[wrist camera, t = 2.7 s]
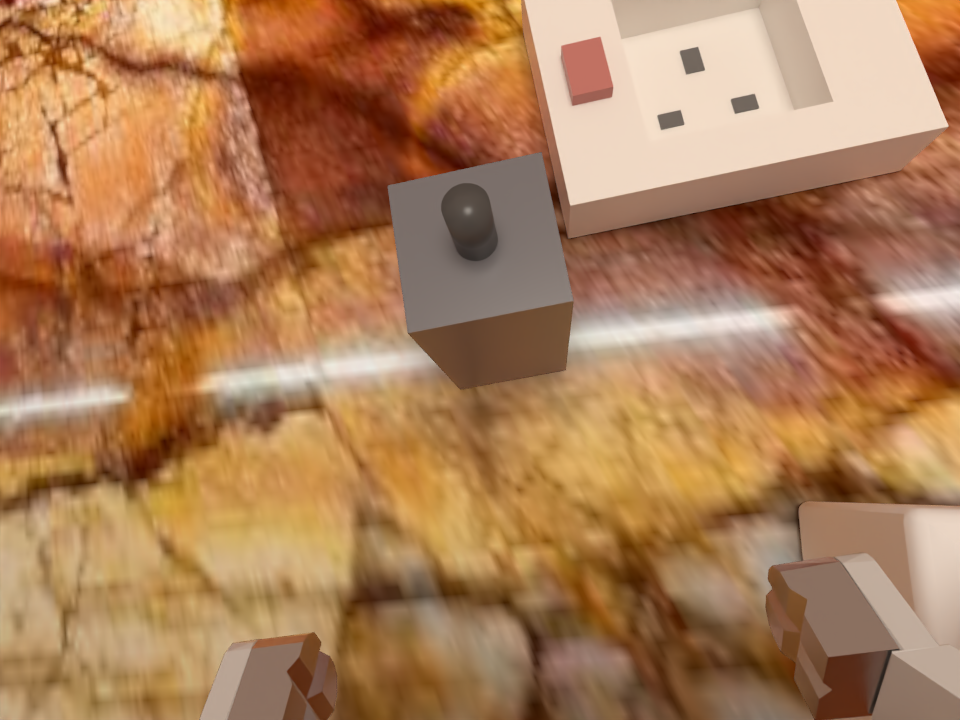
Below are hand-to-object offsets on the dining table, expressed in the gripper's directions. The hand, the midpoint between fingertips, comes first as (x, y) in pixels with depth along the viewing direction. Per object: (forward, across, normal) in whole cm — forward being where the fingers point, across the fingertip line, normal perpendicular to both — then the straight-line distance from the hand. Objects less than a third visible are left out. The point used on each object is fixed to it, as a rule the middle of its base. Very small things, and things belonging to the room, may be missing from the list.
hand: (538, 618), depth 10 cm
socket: (+22, -10, -4) cm, 24 cm away
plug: (+15, 0, +2) cm, 15 cm away
